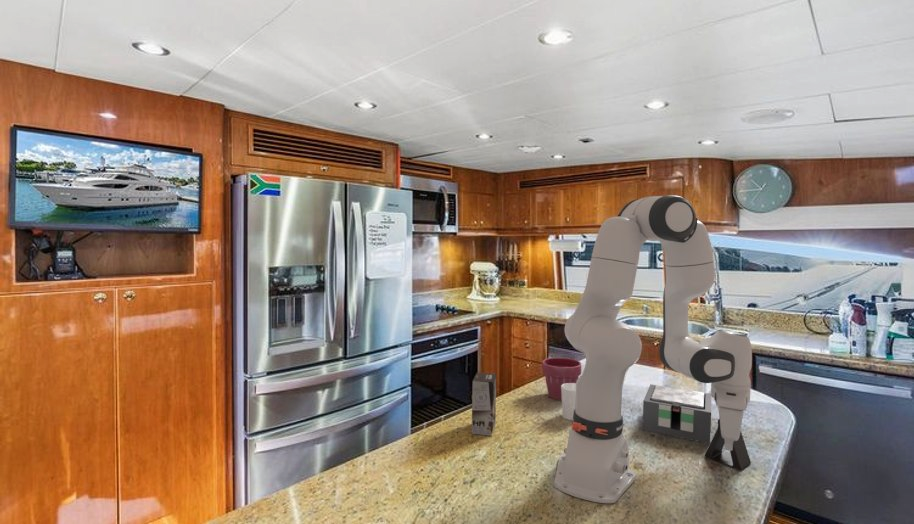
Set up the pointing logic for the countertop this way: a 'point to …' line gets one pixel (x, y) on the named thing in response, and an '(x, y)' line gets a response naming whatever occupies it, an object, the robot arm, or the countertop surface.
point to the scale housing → (677, 418)
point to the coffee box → (484, 403)
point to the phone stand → (738, 454)
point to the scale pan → (678, 397)
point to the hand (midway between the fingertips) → (727, 443)
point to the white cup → (568, 399)
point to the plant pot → (560, 374)
